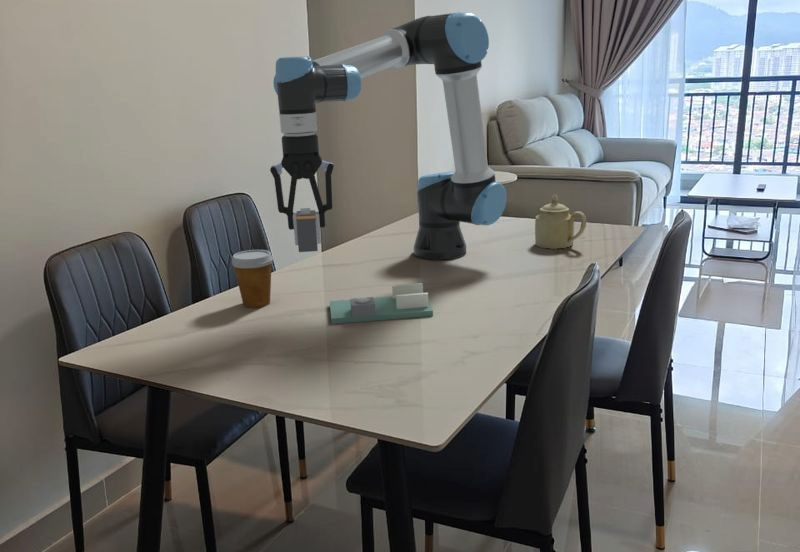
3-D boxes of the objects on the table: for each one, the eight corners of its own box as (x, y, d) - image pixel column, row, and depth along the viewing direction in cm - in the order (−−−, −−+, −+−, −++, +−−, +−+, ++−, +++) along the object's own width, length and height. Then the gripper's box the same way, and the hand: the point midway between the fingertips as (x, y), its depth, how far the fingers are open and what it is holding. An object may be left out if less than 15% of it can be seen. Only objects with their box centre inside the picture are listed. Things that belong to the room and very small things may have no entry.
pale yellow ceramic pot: (588, 241, 212) (590, 191, 208) (584, 251, 202) (586, 198, 198) (538, 239, 217) (539, 190, 213) (531, 248, 207) (532, 197, 203)
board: (329, 306, 164) (328, 288, 163) (424, 298, 167) (423, 281, 165) (331, 323, 153) (330, 305, 152) (433, 315, 155) (432, 297, 154)
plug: (299, 246, 158) (296, 205, 155) (317, 245, 158) (315, 204, 156) (298, 252, 153) (295, 210, 150) (317, 251, 153) (314, 209, 151)
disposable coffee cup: (284, 298, 171) (280, 250, 167) (264, 311, 162) (259, 260, 159) (249, 296, 174) (244, 248, 170) (228, 308, 165) (222, 258, 162)
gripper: (256, 138, 144) (267, 249, 151) (341, 133, 146) (348, 244, 153) (259, 134, 151) (269, 241, 158) (339, 130, 153) (346, 236, 160)
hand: (308, 242), depth 155 cm, fingers closed on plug, 4 cm apart
